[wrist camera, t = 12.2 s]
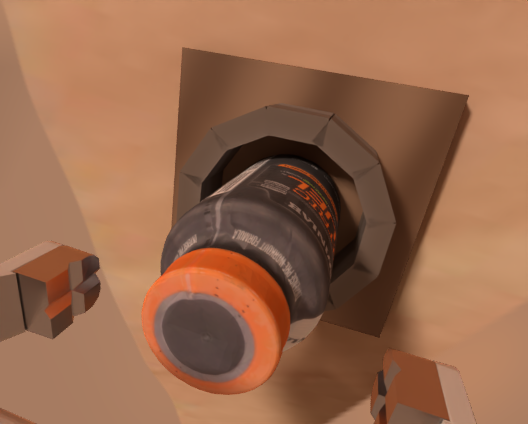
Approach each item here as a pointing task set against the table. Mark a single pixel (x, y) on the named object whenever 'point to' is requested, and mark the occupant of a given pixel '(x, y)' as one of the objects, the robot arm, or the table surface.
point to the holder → (322, 158)
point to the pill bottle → (245, 275)
